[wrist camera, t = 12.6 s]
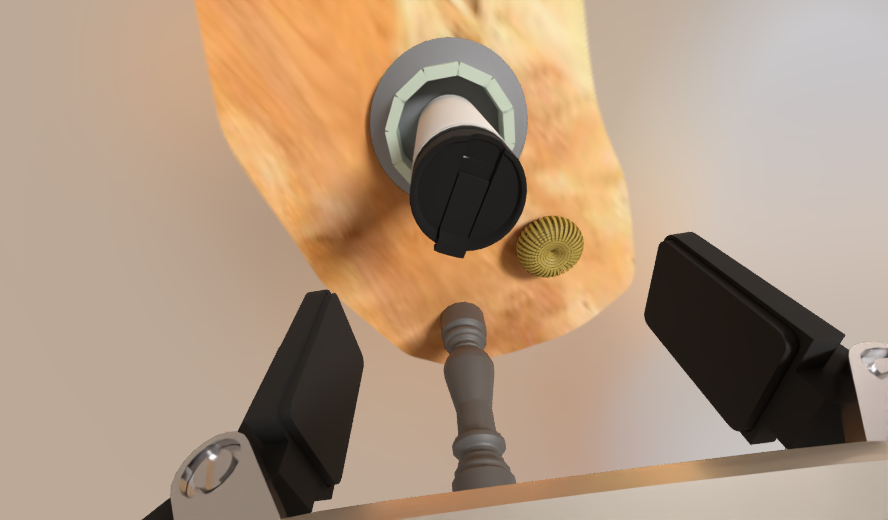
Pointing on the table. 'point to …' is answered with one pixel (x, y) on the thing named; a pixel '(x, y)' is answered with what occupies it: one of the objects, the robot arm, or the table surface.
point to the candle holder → (472, 400)
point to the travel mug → (463, 178)
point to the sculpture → (549, 246)
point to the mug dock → (436, 74)
